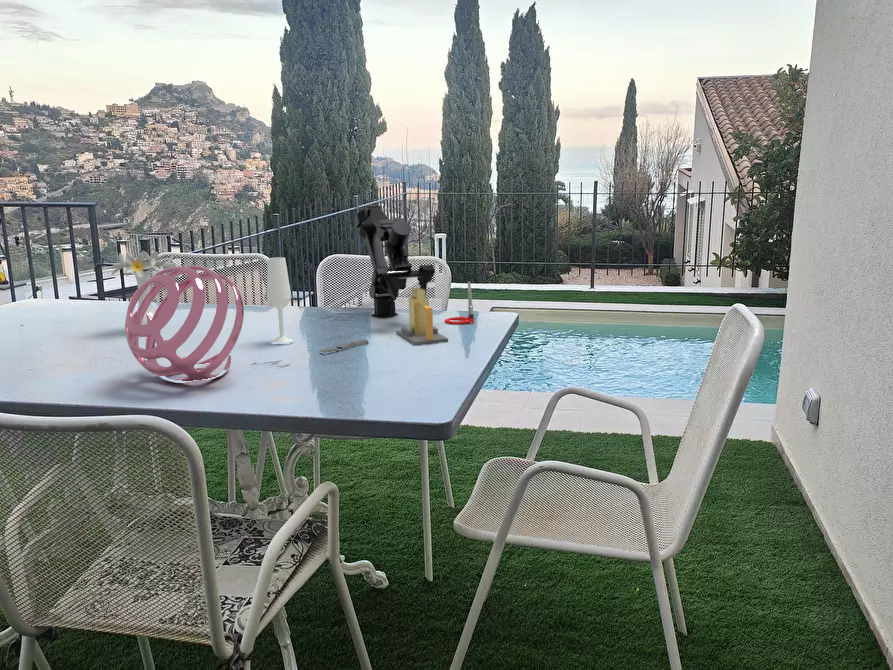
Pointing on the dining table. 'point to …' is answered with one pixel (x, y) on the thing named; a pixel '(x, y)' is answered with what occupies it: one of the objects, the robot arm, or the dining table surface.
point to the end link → (417, 311)
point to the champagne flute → (278, 290)
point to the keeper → (431, 331)
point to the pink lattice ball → (165, 314)
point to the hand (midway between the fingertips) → (410, 298)
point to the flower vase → (142, 272)
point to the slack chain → (346, 346)
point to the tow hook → (470, 309)
